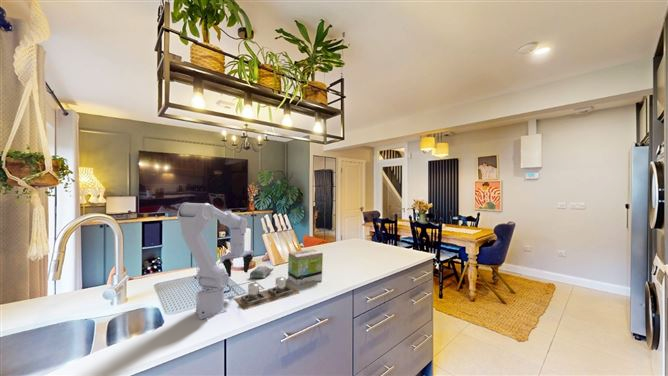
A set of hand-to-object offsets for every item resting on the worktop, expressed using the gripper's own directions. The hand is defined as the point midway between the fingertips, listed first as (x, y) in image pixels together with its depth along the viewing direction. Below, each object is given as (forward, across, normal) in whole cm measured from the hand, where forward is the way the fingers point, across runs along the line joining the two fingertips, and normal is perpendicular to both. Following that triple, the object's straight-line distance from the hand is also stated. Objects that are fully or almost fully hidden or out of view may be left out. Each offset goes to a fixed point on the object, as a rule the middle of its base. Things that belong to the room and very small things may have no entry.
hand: (237, 274), depth 113 cm
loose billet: (+8, +2, -12) cm, 14 cm away
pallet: (+9, +8, -13) cm, 18 cm away
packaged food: (+10, +20, +13) cm, 26 cm away
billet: (+8, +14, -14) cm, 21 cm away
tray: (+9, +5, +1) cm, 11 cm away
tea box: (+10, +32, -8) cm, 35 cm away
